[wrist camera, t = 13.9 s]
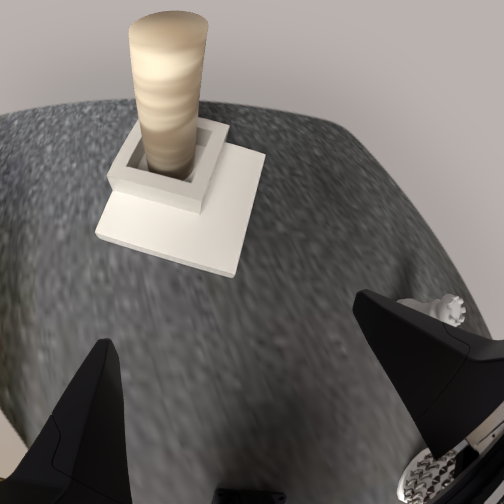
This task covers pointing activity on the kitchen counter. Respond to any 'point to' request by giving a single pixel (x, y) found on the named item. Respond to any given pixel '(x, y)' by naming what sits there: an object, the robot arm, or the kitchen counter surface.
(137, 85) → the birch post
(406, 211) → the kitchen counter surface
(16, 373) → the kitchen counter surface
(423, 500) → the decorative candle
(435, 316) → the rook chess piece
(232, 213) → the socket base
